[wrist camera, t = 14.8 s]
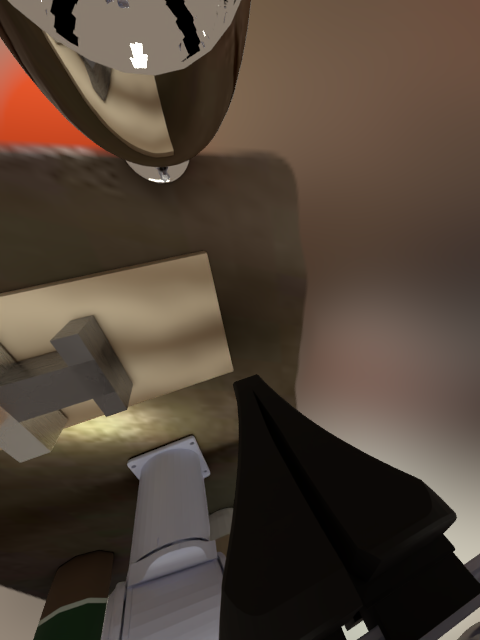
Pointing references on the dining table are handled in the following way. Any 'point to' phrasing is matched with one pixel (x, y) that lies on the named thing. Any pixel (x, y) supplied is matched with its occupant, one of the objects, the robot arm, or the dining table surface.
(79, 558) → the beer bottle
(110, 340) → the vise bed
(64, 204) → the dining table surface
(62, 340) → the moving jaw
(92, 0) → the wineglass
